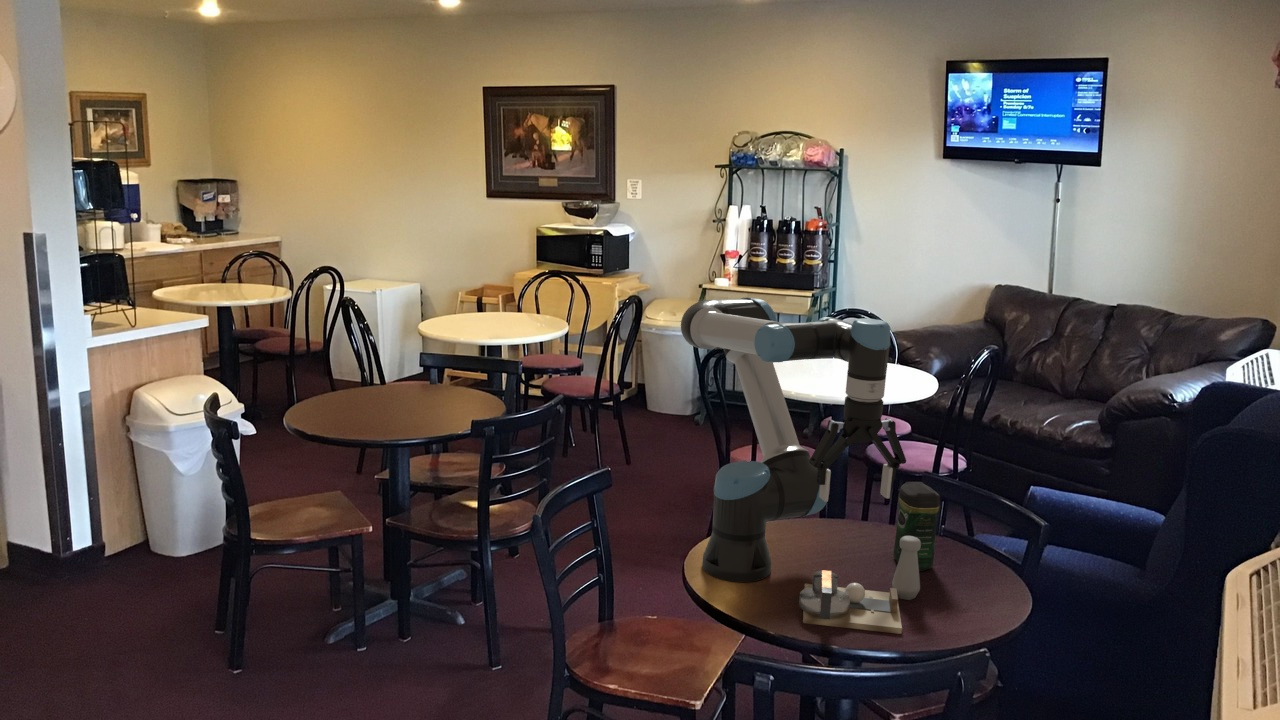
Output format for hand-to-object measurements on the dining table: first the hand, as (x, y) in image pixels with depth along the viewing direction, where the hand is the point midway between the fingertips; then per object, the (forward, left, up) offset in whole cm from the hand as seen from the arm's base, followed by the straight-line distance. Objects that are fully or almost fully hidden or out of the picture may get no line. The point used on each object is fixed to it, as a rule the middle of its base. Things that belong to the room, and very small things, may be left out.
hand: (854, 497), depth 212 cm
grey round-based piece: (-5, -10, -21) cm, 23 cm away
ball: (+2, -4, -21) cm, 21 cm away
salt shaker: (+12, +5, -23) cm, 26 cm away
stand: (+1, -5, -22) cm, 23 cm away
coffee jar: (+15, +23, -23) cm, 36 cm away
